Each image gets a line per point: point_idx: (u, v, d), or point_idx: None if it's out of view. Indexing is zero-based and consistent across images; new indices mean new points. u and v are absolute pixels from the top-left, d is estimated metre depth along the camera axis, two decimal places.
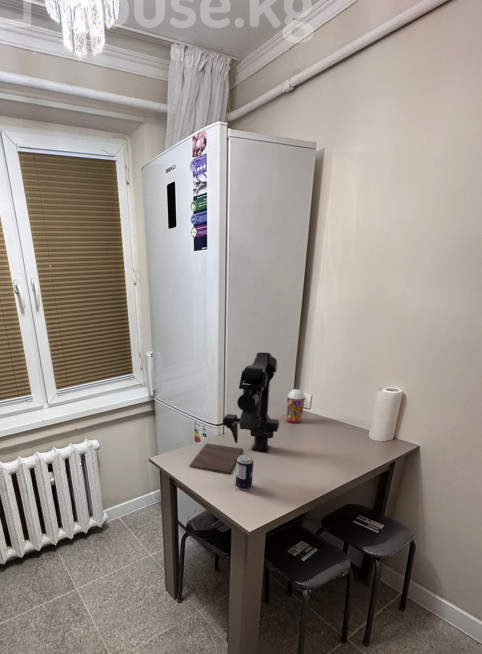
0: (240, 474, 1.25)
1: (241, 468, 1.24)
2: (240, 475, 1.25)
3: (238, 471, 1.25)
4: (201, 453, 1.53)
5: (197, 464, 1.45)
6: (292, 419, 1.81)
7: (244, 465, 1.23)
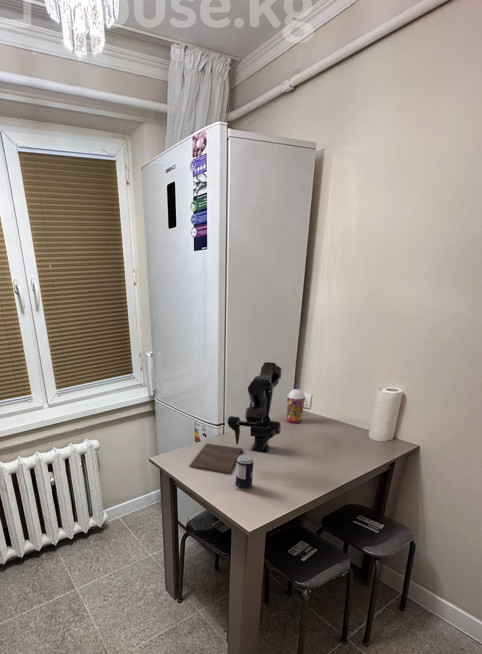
0: (240, 474, 1.25)
1: (241, 468, 1.24)
2: (240, 475, 1.25)
3: (238, 471, 1.25)
4: (201, 453, 1.53)
5: (197, 464, 1.45)
6: (292, 419, 1.81)
7: (244, 465, 1.23)
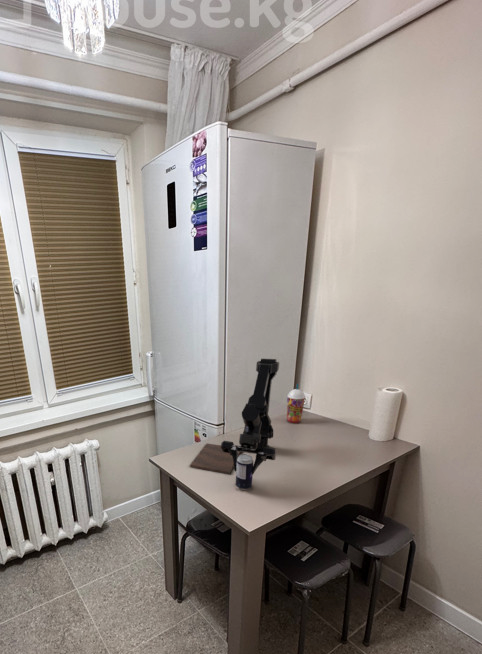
0: (240, 474, 1.25)
1: (241, 468, 1.24)
2: (240, 475, 1.25)
3: (238, 471, 1.25)
4: (201, 453, 1.53)
5: (197, 464, 1.45)
6: (292, 419, 1.81)
7: (244, 465, 1.23)
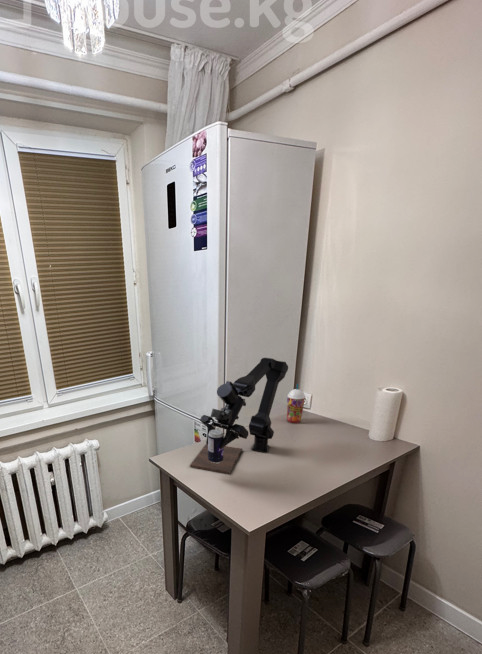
0: (209, 447, 1.31)
1: (209, 441, 1.30)
2: (209, 447, 1.31)
3: (208, 444, 1.32)
4: (201, 453, 1.53)
5: (197, 464, 1.45)
6: (292, 419, 1.81)
7: (212, 439, 1.29)
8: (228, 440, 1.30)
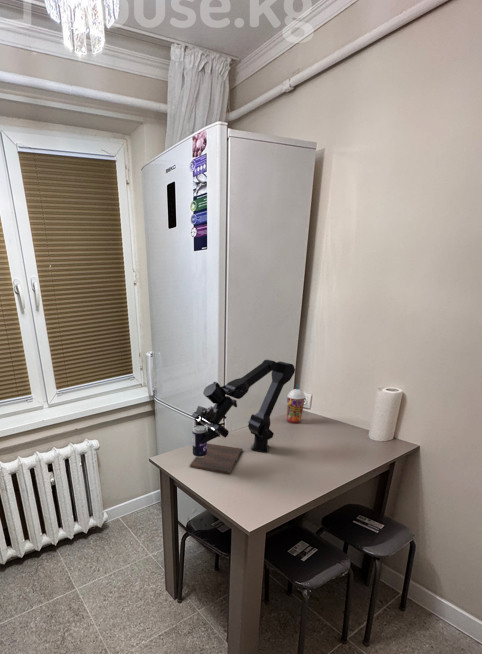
0: None
1: (192, 435, 1.40)
2: None
3: (192, 438, 1.42)
4: None
5: (197, 464, 1.45)
6: (292, 419, 1.81)
7: (194, 434, 1.39)
8: (209, 437, 1.38)
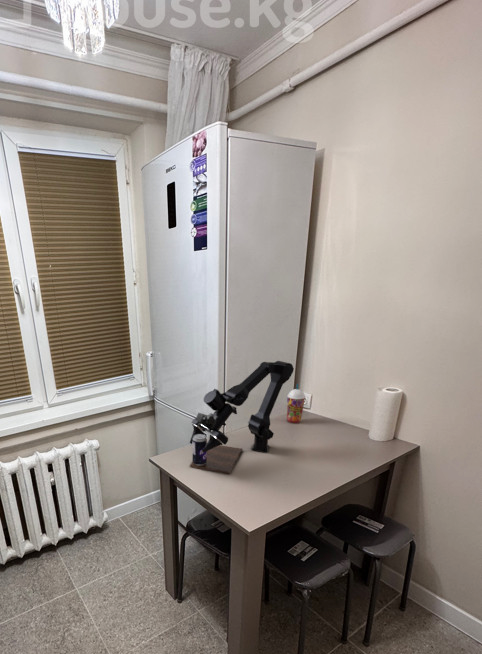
0: (192, 450, 1.43)
1: (192, 444, 1.42)
2: (192, 450, 1.43)
3: (192, 446, 1.43)
4: None
5: None
6: (292, 419, 1.81)
7: (194, 442, 1.40)
8: (211, 445, 1.38)
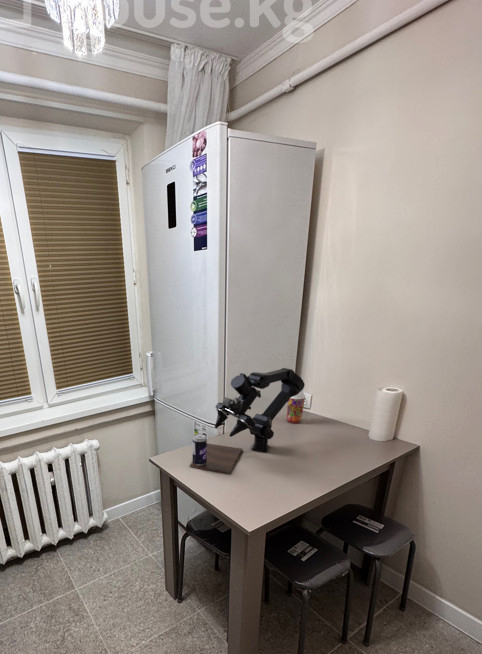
0: (192, 450, 1.43)
1: (192, 444, 1.42)
2: (192, 450, 1.43)
3: (192, 446, 1.43)
4: None
5: None
6: (292, 419, 1.81)
7: (194, 442, 1.40)
8: (239, 429, 1.38)
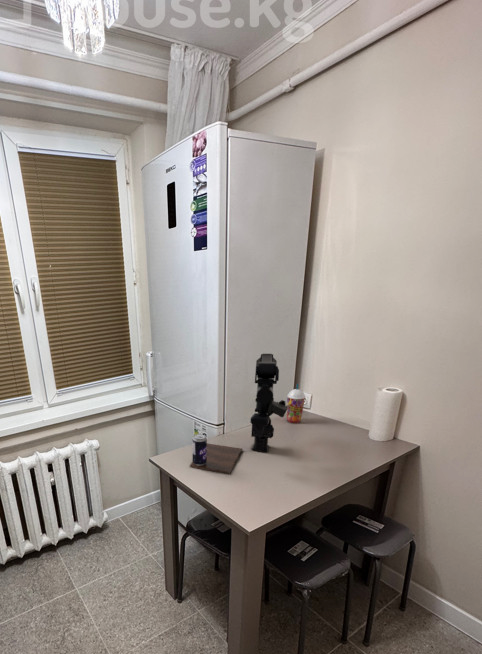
0: (192, 450, 1.43)
1: (192, 444, 1.42)
2: (192, 450, 1.43)
3: (192, 446, 1.43)
4: None
5: None
6: (292, 419, 1.81)
7: (194, 442, 1.40)
8: None
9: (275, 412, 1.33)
